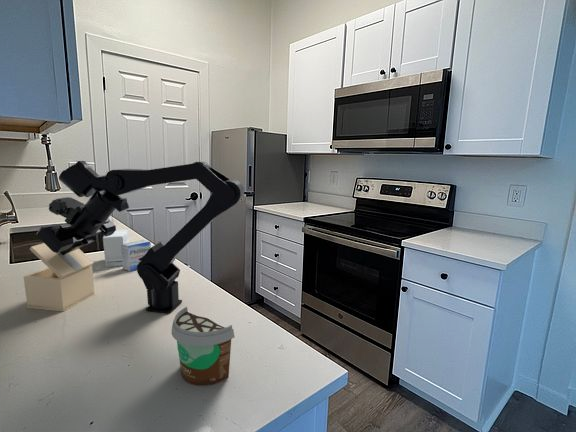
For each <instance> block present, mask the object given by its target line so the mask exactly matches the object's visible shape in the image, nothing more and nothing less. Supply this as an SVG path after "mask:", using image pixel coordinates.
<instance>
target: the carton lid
mask: <svg viewBox="0 0 576 432" xmlns="http://www.w3.org/2000/svg"><path fill="white" fill-rule="evenodd" d="M29 250H30V251H31V253H33V255H35V256H36V257H37V258H38V259H39V260H40V261H41V262H42V263H43V264H44V265H45V266H47V268H48V267H49V268H50V269H51V270H52V271H53V272H54V273H55V274H56V275H57V276H58V277H59V278H60V279H61V278H63V277H65V276H68V275H70V274H72V273H75V272H77V271H79V270H82V269H84V268H86V267H89V266H93V265H94V263H95V262H94V261H92V259H91V258H90V257H89V256H87V255H86V254H85V253H84V252H83V250H81V249H80V248H78V249H76V250H74V251H72V252H70V253H68V254H65V255H62V254H61V253H60V252H58V253H56V252H53V251H52V250H51V249H50V248H49V247H48V246H47V245H46V244H45V243H44V242H42V243H39V244H35V245H31V247H30V248H29Z"/></svg>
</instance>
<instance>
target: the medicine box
mask: <svg viewBox="0 0 576 432" xmlns="http://www.w3.org/2000/svg"><path fill="white" fill-rule="evenodd" d="M151 247H152V246H151V241H150V240H145V239H142V240H136V241H132V242H131V241H130V243H125V244H121V248H122V260H123V266H122V269H123V270H125V271H128V272H133V271H137V265H138V263H139V262H140V260H138V259H139V258H141V257H142V256H144V255H145V254H146V253H147V251H148V250H149V249H150V248H151Z"/></svg>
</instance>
